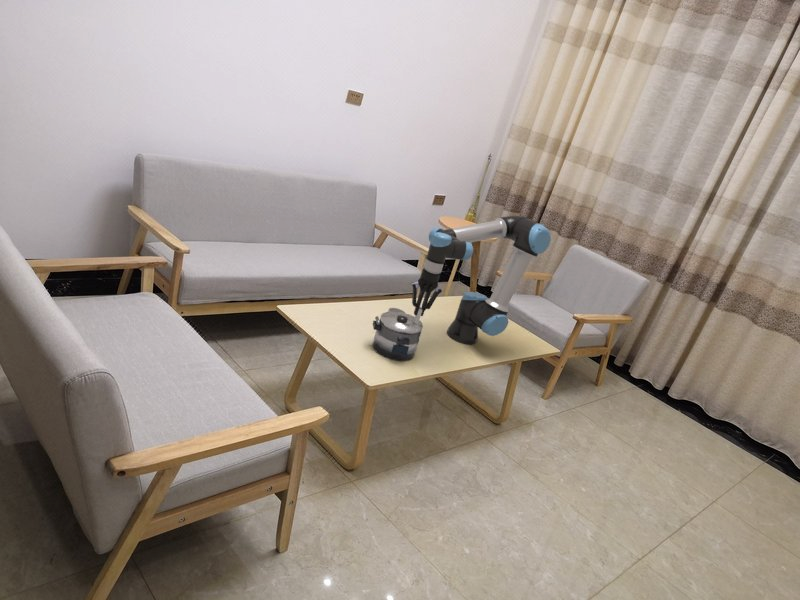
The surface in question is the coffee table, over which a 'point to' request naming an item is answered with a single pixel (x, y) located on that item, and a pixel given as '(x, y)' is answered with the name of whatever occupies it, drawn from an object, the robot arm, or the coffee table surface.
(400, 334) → the cooker
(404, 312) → the cup
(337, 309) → the coffee table surface
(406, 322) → the lid
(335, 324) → the coffee table surface
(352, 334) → the coffee table surface
